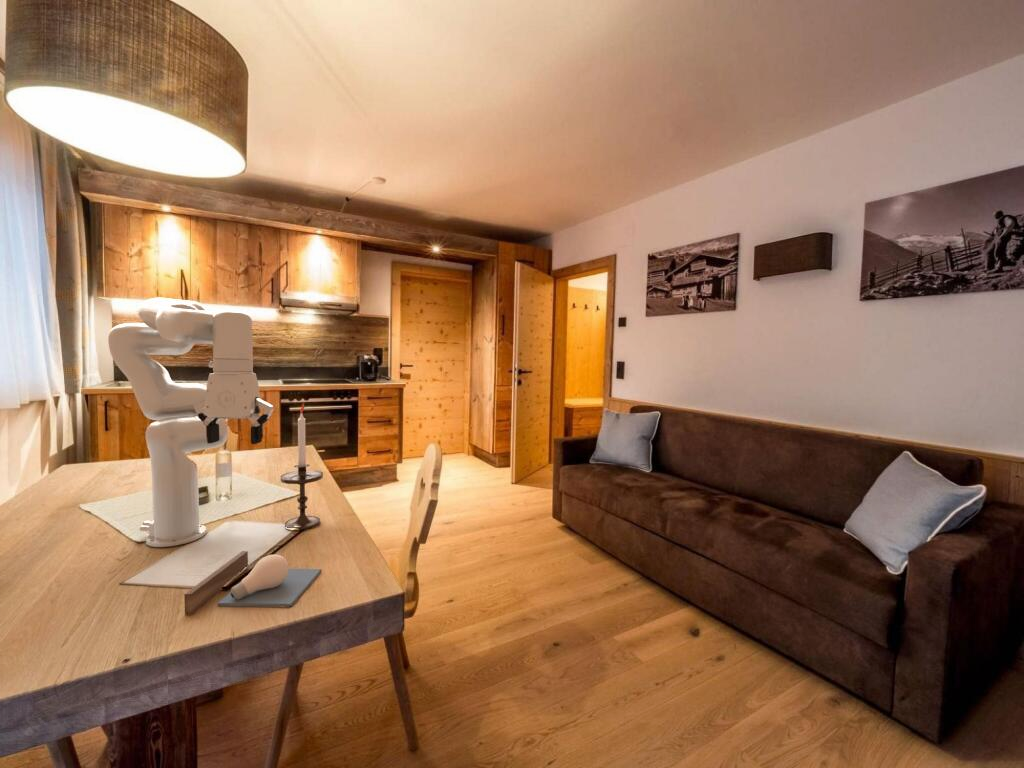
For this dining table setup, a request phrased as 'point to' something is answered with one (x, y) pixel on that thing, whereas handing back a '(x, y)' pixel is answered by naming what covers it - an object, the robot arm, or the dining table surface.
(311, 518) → the candlestick
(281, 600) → the mat
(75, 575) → the dining table surface
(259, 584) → the light bulb
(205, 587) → the low wall
